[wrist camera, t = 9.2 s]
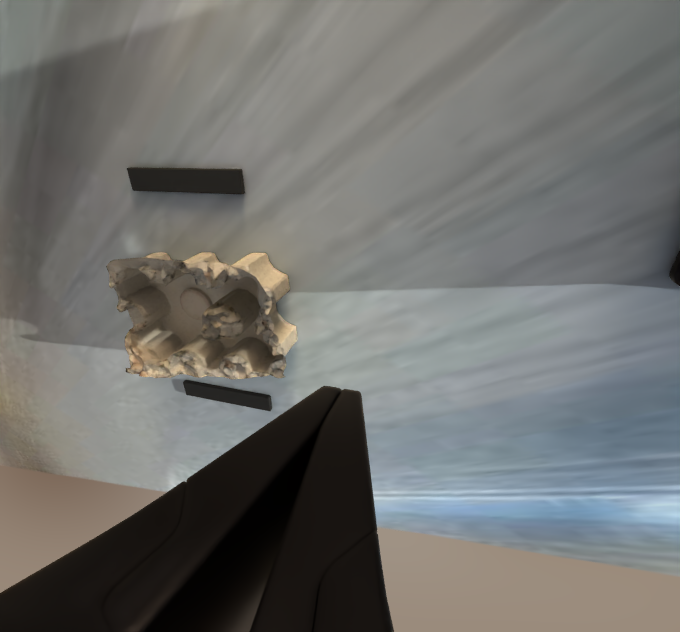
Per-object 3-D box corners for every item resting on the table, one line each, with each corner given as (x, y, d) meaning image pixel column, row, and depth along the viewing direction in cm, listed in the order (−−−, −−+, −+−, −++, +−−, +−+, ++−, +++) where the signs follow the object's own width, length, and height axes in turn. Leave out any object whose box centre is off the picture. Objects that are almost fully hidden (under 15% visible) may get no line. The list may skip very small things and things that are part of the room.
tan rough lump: (165, 342, 26) (119, 376, 22) (135, 239, 22) (76, 260, 19) (303, 363, 23) (276, 405, 19) (294, 250, 19) (259, 275, 16)
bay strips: (242, 169, 18) (239, 169, 18) (272, 408, 26) (270, 411, 25) (130, 167, 20) (126, 167, 20) (188, 392, 27) (186, 394, 27)
